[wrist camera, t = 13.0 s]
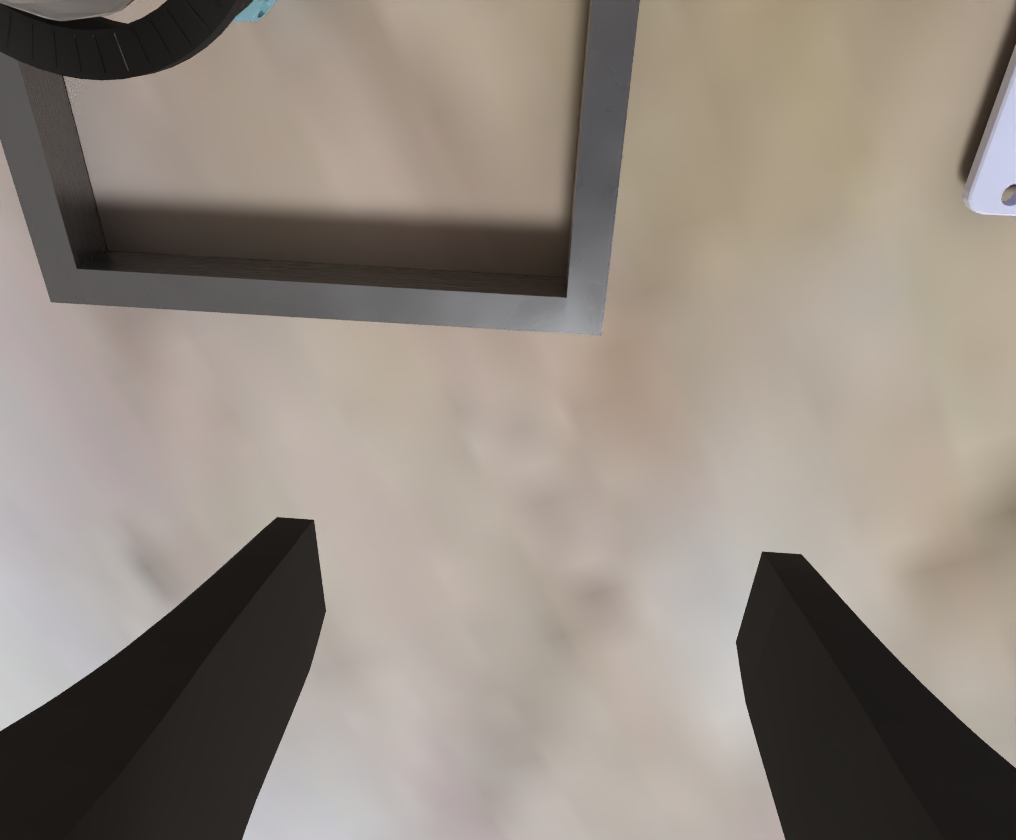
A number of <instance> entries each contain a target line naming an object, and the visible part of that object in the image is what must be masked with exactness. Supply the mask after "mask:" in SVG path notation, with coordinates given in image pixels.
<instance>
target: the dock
mask: <svg viewBox="0 0 1016 840" xmlns="http://www.w3.org/2000/svg"><path fill="white" fill-rule="evenodd" d="M639 2H640V0H589V11H588V23H587V35H586V48H585V60H584V72H583V84H582V96H581V108H580V120H579V132H578V144H577V156H576V168H575V180H574V192H573V204H572V216H571V228H570V240H569V252H568V264H567V277H566V278H559V277H542V276H525V275H508V274H490V273H473V272H456V271H438V270H421V269H404V268H387V267H369V266H352V265H335V264H318V263H300V262H283V261H266V260H248V259H231V258H214V257H197V256H179V255H162V254H145V253H128V252H110V251H107V248H106V244H105V240H104V236H103V232H102V228H101V224H100V221H99V217H98V213H97V209H96V205H95V201H94V197H93V193H92V189H91V186H90V182H89V178H88V174H87V170H86V166H85V162H84V158H83V154H82V151H81V147H80V143H79V139H78V135H77V131H76V127H75V123H74V120H73V116H72V112H71V108H70V104H69V100H68V96H67V92H66V88H65V85H64V81H63V77H62V75H58V74H55V73H51V72H48V71H44V70H41V69H38V68H35V67H33V66H30V65H28V64H25V63H23V62H20V61H18V60H15V59H13V58H12V57H10V56H8V55H6V54H4V53H2V52H0V140H1V143H2V146H3V149H4V152H5V156H6V159H7V162H8V165H9V169H10V172H11V175H12V178H13V181H14V185H15V188H16V191H17V194H18V198H19V201H20V204H21V207H22V210H23V214H24V217H25V220H26V223H27V227H28V230H29V233H30V236H31V239H32V243H33V246H34V249H35V252H36V256H37V259H38V262H39V265H40V268H41V272H42V275H43V278H44V281H45V284H46V288H47V291H48V294H49V297H50V301H51V302H57V303H73V304H90V305H106V306H123V307H139V308H156V309H172V310H188V311H205V312H221V313H238V314H254V315H271V316H287V317H304V318H320V319H337V320H353V321H370V322H386V323H403V324H419V325H436V326H452V327H469V328H485V329H502V330H518V331H535V332H551V333H568V334H584V335H602V326H603V317H604V308H605V300H606V291H607V282H608V273H609V265H610V256H611V247H612V238H613V230H614V221H615V212H616V203H617V195H618V186H619V177H620V168H621V160H622V151H623V142H624V133H625V125H626V116H627V107H628V98H629V90H630V81H631V72H632V63H633V54H634V46H635V37H636V28H637V19H638V11H639Z"/></svg>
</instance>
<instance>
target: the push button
mask: <svg viewBox="0 0 1016 840" xmlns="http://www.w3.org/2000/svg"><path fill="white" fill-rule="evenodd" d="M133 1H134V0H0V52H2V53H4V54H6V55H8V56H10V57H12V58H13V59H15V60H18V61H20V62H23V63H25V64H28V65H30V66H33V67H35V68H38V69H41V70H44V71H48V72H51V73H55V74H58V75H63V76H68V77H74V78H79V79H91V80H115V79H126V78H131V77H136V76H142V75H147V74H152V73H156V72H159V71H162V70H165V69H168V68H171V67H174V66H176V65H178V64H180V63H182V62H184V61H186V60H188V59H190V58H191V57H193V56H194V55H196V54H197V53H199V52H200V51H202V50H203V49H205V48H206V47H207V46H208V45H209V44H211V43H212V42H213V41H214V40H215V39H216V38H217V37H218V36H220V35H221V34H222V32H223V31H224V30H225V29H226V28H227V27H228V25H229V24H230V23H231V22H238V21H249V20H250V21H251V22H252V21H258V20H260V19H261V18H262V17H263V16H265V15H266V13H267V12H268V11H269V10H270V8H271V7H272V6H273V4H274V3H275V1H276V0H167V1H166V2H165V3H164V4H162V5H161V6H160V7H159V8H158V9H156V10H154V11H153V12H151V13H150V14H148V15H146V16H145V17H143V18H141V19H139V20H136V21H134V22H131V23H129V24H126V23H121V22H117V21H112V20H109V19H106V18H103V17H100V16H107V15H111V14H113V13H116V12H118V11H121V10H123V9H124V8H125V7H126V6H128V5H129V4H130V3H131V2H133Z"/></svg>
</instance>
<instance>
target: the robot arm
mask: <svg viewBox="0 0 1016 840" xmlns="http://www.w3.org/2000/svg"><path fill="white" fill-rule="evenodd" d="M1012 184H1016V45H1015V48H1014V50H1013V53H1012V56H1011V59H1010V62H1009V64H1008V67H1007V70H1006V73H1005V76H1004V78H1003V81H1002V84H1001V87H1000V89H999V92H998V95H997V98H996V101H995V103H994V106H993V109H992V112H991V115H990V117H989V120H988V123H987V126H986V129H985V131H984V134H983V137H982V140H981V143H980V145H979V148H978V151H977V154H976V156H975V159H974V162H973V165H972V168H971V170H970V173H969V176H968V179H967V182H966V184H965V187H964V191H963V201H964V204H965V205H966V206H967V207H968V208H969V209H971V210H972V211H974V212H977V213H981V214H990V215H1008V216H1016V192H1015V193H1014V195H1013V196H1012V197H1011V198H1010V199H1008V200H1007V201H1003V202H1002V201H1001V196H1002V193H1003V192H1004V190H1005V189H1006V188H1007V187H1009V186H1010V185H1012ZM325 612H326V608H325V601H324V593H323V585H322V578H321V570H320V562H319V555H318V547H317V540H316V532H315V524H314V520H308V519H294V518H280V517H277V518H276V519H275V520H273V521H272V522H271V523H270V524H269V525H268V526H266V527H265V528H264V529H263V530H262V531H261V532H260V533H259V534H257V535H256V536H255V537H254V538H253V539H252V540H251V541H250V542H249V543H248V544H247V545H245V546H244V547H243V548H242V549H241V550H240V551H239V552H238V553H237V554H236V555H235V556H233V557H232V558H231V559H230V560H229V561H228V562H227V563H226V564H225V565H223V566H222V567H221V568H220V569H219V570H218V571H217V572H216V573H215V574H214V575H212V576H211V577H210V578H209V579H208V580H207V581H206V582H204V583H203V584H202V585H201V586H200V587H199V588H197V589H196V590H195V591H194V592H193V593H192V594H191V595H189V596H188V597H187V598H186V599H185V600H184V601H183V602H181V603H180V604H179V605H178V606H177V607H176V608H174V609H173V610H172V611H171V612H170V613H168V614H167V615H166V616H165V617H163V618H162V619H161V620H160V621H158V622H157V623H156V624H155V625H153V626H152V627H151V628H150V629H148V630H147V631H146V632H145V633H143V634H142V635H141V636H140V637H138V638H137V639H136V640H135V641H133V642H132V643H131V644H130V645H128V646H127V647H126V648H124V649H123V650H122V651H121V652H119V653H118V654H117V655H115V656H114V657H112V658H111V659H110V660H108V661H107V662H106V663H104V664H103V665H102V666H100V667H99V668H97V669H96V670H95V671H93V672H92V673H90V674H89V675H87V676H86V677H84V678H83V679H82V680H80V681H79V682H77V683H76V684H74V685H73V686H71V687H70V688H68V689H67V690H65V691H64V692H62V693H61V694H60V695H58V696H57V697H55V698H53V699H52V700H50V701H49V702H47V703H46V704H44V705H43V706H41V707H39V708H38V709H36V710H34V711H33V712H31V713H30V714H28V715H26V716H25V717H23V718H21V719H20V720H18V721H16V722H15V723H13V724H11V725H10V726H8V727H6V728H5V729H3V730H2V731H0V840H242V838H243V835H244V832H245V829H246V826H247V824H248V821H249V818H250V815H251V813H252V810H253V807H254V805H255V802H256V799H257V797H258V794H259V792H260V790H261V787H262V785H263V782H264V780H265V778H266V775H267V773H268V770H269V768H270V765H271V763H272V761H273V758H274V756H275V753H276V751H277V749H278V746H279V744H280V741H281V739H282V736H283V734H284V732H285V729H286V727H287V724H288V722H289V720H290V717H291V715H292V712H293V710H294V707H295V705H296V702H297V700H298V698H299V695H300V693H301V690H302V688H303V685H304V683H305V680H306V678H307V675H308V673H309V670H310V667H311V664H312V660H313V657H314V653H315V650H316V646H317V643H318V639H319V635H320V631H321V628H322V624H323V620H324V616H325ZM736 645H737V652H738V658H739V665H740V672H741V678H742V684H743V690H744V695H745V701H746V705H747V709H748V713H749V716H750V720H751V723H752V727H753V730H754V734H755V737H756V741H757V744H758V748H759V751H760V755H761V758H762V762H763V765H764V768H765V772H766V775H767V779H768V782H769V785H770V789H771V792H772V796H773V799H774V802H775V806H776V809H777V813H778V816H779V819H780V823H781V826H782V830H783V833H784V836H785V840H1016V768H1015V767H1014V766H1012V765H1011V764H1010V763H1009V762H1008V761H1006V760H1005V759H1004V758H1003V757H1002V756H1001V755H999V754H998V753H997V752H996V751H995V750H993V749H992V748H991V747H990V746H989V745H988V744H986V743H985V742H984V741H983V740H982V739H981V738H980V737H978V736H977V735H976V734H975V733H974V732H973V731H972V730H971V729H969V728H968V727H967V726H966V725H965V724H964V723H963V722H962V721H961V720H960V719H958V718H957V717H956V716H955V715H954V714H953V713H952V712H951V711H950V710H949V709H948V708H947V707H946V706H945V705H944V704H943V703H942V702H941V701H940V700H939V699H937V698H936V697H935V696H934V695H933V694H932V693H931V692H930V691H929V690H928V689H927V688H926V687H925V686H924V685H923V684H922V683H921V682H920V681H919V680H918V679H917V678H916V677H915V676H914V675H913V674H912V673H911V672H910V671H909V670H908V669H907V668H906V667H905V666H904V665H903V664H902V663H901V662H900V661H899V660H898V659H897V658H896V657H895V656H894V655H893V654H892V653H891V652H890V651H889V650H888V649H887V648H886V647H885V645H884V644H883V643H882V642H881V641H880V640H879V639H878V638H877V637H876V636H875V635H874V634H873V633H872V632H871V631H870V629H869V628H868V627H867V626H866V625H865V624H864V623H863V622H862V621H861V620H860V619H859V618H858V616H857V615H856V614H855V613H854V612H853V611H852V610H851V609H850V608H849V607H848V605H847V604H846V603H845V602H844V601H843V600H842V599H841V598H840V597H839V595H838V594H837V593H836V592H835V591H834V590H833V589H832V588H831V587H830V585H829V584H828V583H827V582H826V581H825V580H824V579H823V578H822V576H821V575H820V574H819V573H818V572H817V571H816V570H815V569H814V568H813V567H812V565H811V564H810V563H809V562H808V561H807V560H806V559H805V558H804V557H803V556H802V555H801V554H789V553H775V552H762V554H761V558H760V561H759V564H758V568H757V571H756V575H755V578H754V582H753V585H752V589H751V592H750V596H749V599H748V602H747V606H746V609H745V613H744V616H743V620H742V623H741V627H740V630H739V633H738V637H737V640H736Z"/></svg>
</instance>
